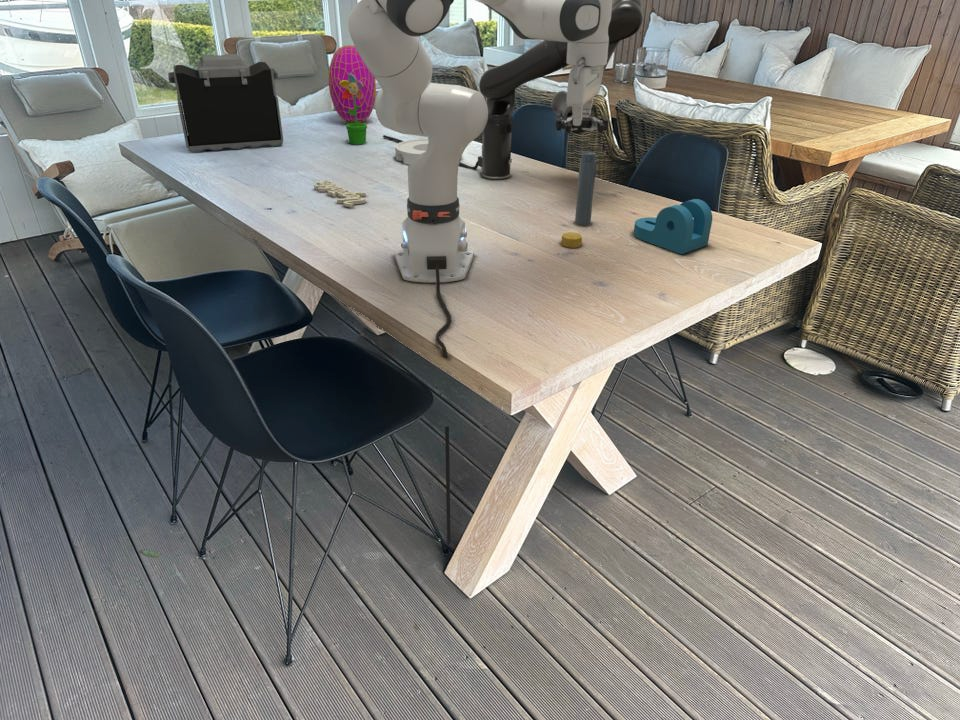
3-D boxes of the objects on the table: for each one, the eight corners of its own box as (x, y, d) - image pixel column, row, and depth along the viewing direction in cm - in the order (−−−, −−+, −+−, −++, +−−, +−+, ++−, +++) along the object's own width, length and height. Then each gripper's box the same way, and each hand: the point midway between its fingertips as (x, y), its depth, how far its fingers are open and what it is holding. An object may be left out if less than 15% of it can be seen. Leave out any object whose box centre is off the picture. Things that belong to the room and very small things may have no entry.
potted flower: (342, 144, 260) (336, 73, 247) (351, 139, 266) (346, 70, 254) (365, 146, 257) (360, 74, 245) (374, 141, 264) (369, 71, 251)
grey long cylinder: (592, 225, 185) (599, 154, 175) (577, 226, 184) (583, 155, 174) (587, 220, 188) (594, 150, 179) (572, 220, 188) (578, 151, 178)
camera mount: (707, 244, 172) (715, 204, 167) (681, 254, 167) (689, 212, 161) (650, 225, 184) (656, 186, 179) (624, 233, 179) (629, 194, 173)
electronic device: (280, 133, 274) (270, 51, 259) (288, 146, 256) (277, 59, 241) (182, 140, 262) (165, 54, 247) (183, 153, 245) (164, 62, 229)
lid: (584, 243, 173) (585, 234, 172) (576, 249, 169) (576, 240, 168) (566, 239, 175) (567, 230, 174) (557, 245, 172) (558, 236, 170)
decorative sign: (378, 198, 199) (347, 205, 194) (378, 202, 199) (348, 208, 194) (336, 178, 217) (306, 183, 211) (336, 181, 217) (307, 186, 212)
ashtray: (454, 167, 232) (454, 155, 230) (388, 164, 235) (387, 152, 233) (466, 151, 252) (466, 140, 250) (404, 148, 255) (404, 137, 253)
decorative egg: (362, 116, 305) (357, 42, 290) (386, 123, 292) (382, 46, 277) (324, 121, 294) (316, 45, 279) (347, 129, 281) (340, 49, 266)
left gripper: (591, 62, 141) (585, 131, 148) (609, 51, 158) (603, 114, 165) (561, 60, 143) (557, 129, 150) (582, 49, 159) (577, 112, 166)
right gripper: (552, 103, 196) (559, 114, 182) (602, 103, 196) (613, 114, 182) (551, 130, 200) (558, 143, 186) (599, 130, 200) (610, 143, 186)
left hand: (581, 121), depth 157 cm, fingers open, 8 cm apart
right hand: (585, 129), depth 184 cm, fingers open, 8 cm apart
